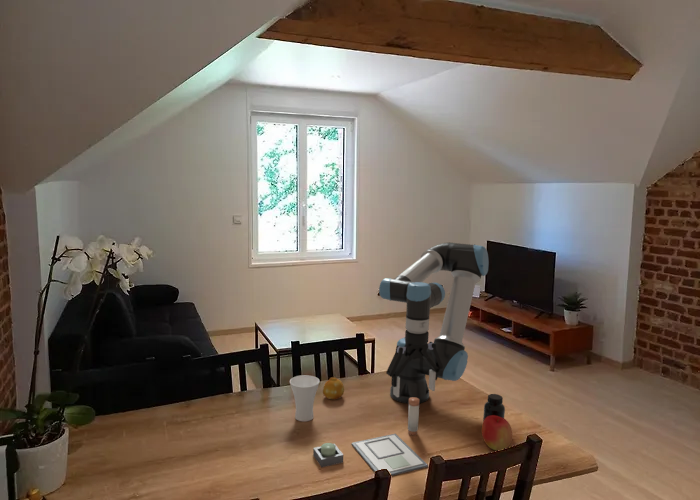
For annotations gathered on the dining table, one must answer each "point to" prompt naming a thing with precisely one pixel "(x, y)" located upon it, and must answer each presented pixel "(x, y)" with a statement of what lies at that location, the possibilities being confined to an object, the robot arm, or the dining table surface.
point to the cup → (304, 395)
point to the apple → (496, 432)
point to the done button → (328, 449)
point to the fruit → (333, 388)
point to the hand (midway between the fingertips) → (414, 392)
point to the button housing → (327, 460)
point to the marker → (413, 416)
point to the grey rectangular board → (389, 454)
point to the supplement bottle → (494, 406)
